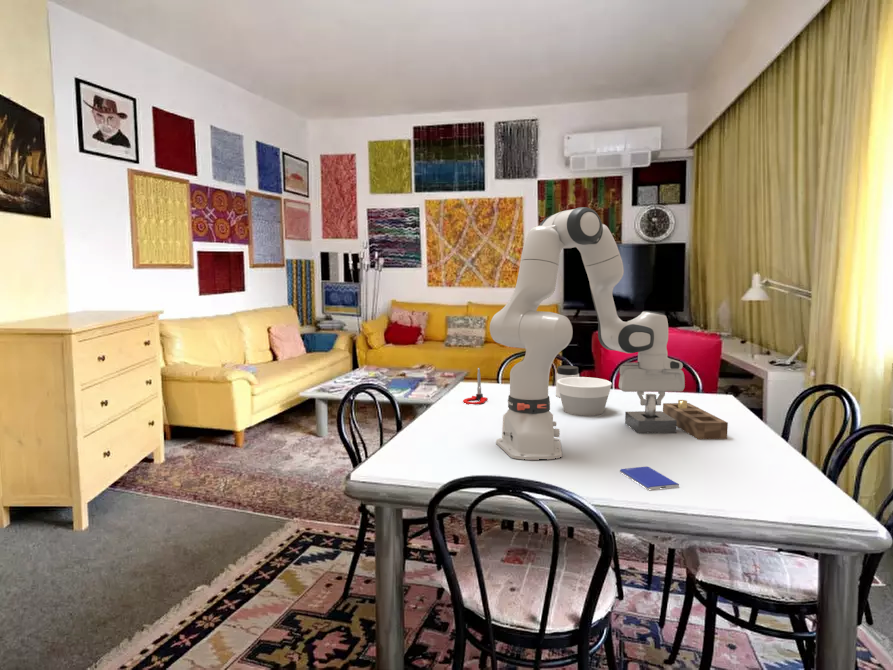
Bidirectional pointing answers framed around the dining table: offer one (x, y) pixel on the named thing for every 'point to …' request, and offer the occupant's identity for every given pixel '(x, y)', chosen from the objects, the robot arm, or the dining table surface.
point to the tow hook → (479, 395)
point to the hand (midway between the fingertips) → (650, 405)
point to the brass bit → (682, 404)
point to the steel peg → (650, 406)
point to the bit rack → (697, 421)
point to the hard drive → (649, 478)
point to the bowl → (584, 395)
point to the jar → (565, 375)
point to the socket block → (650, 422)
